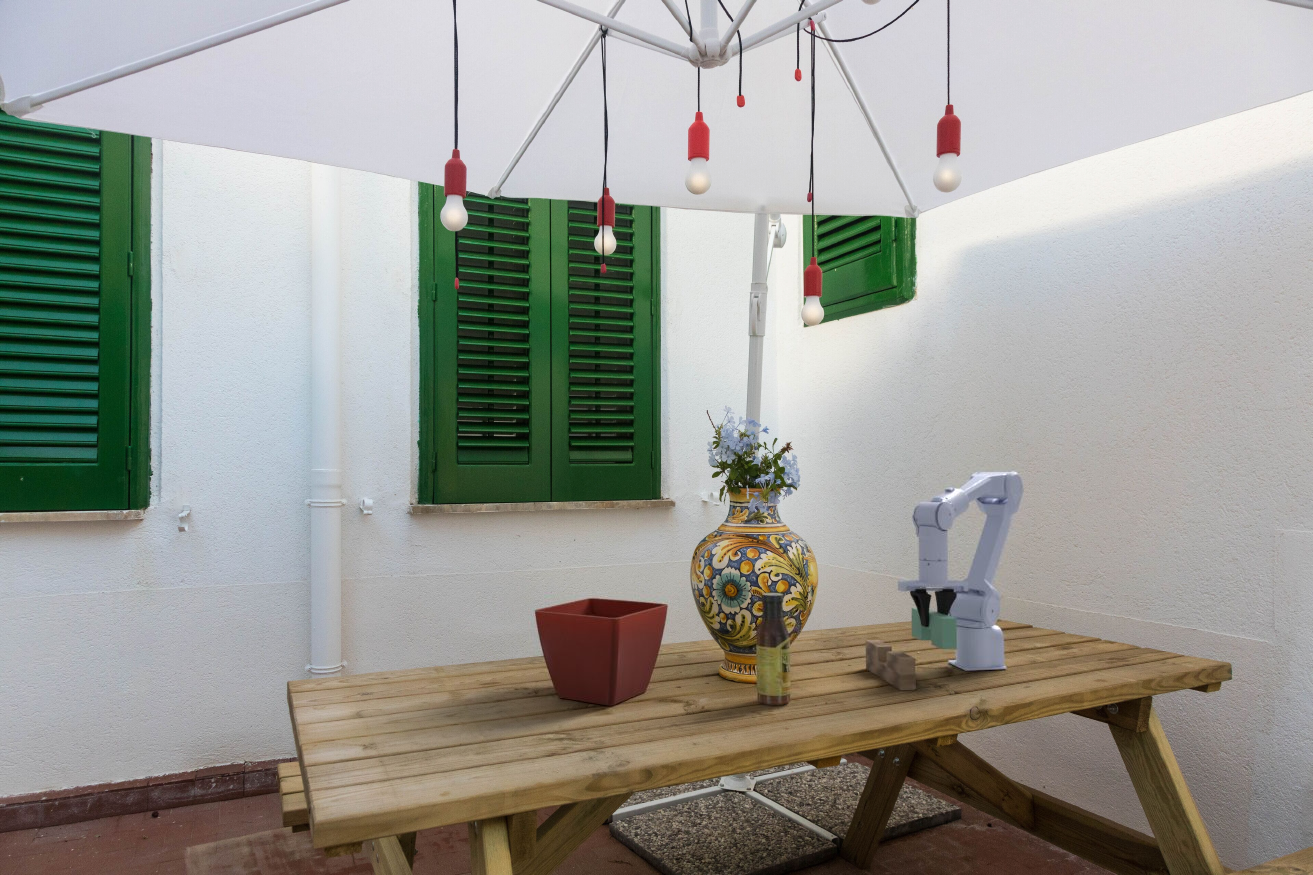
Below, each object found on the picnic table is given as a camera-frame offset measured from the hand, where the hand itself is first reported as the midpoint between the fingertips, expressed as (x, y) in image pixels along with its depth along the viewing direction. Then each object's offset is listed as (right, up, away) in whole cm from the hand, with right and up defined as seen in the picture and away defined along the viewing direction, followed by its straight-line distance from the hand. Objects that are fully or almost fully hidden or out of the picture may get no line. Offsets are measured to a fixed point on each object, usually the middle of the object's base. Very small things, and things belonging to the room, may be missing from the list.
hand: (933, 626), depth 174 cm
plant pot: (-67, -11, -12) cm, 69 cm away
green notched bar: (0, -3, 0) cm, 3 cm away
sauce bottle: (-35, -10, -18) cm, 41 cm away
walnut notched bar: (-9, -10, -1) cm, 14 cm away
